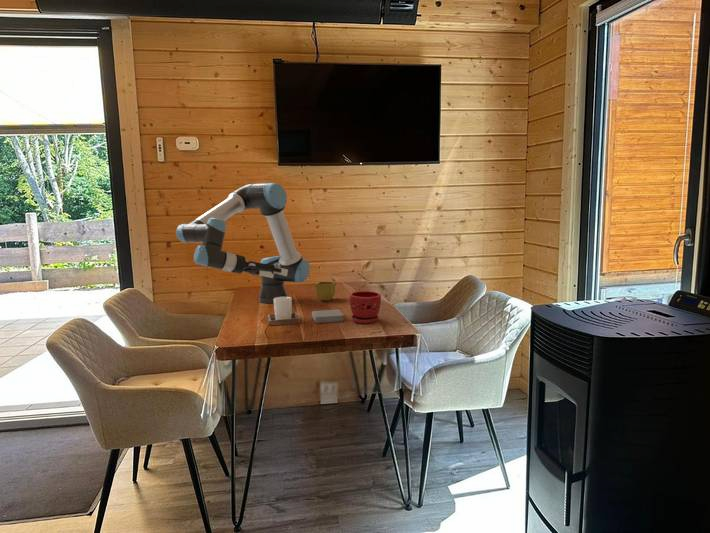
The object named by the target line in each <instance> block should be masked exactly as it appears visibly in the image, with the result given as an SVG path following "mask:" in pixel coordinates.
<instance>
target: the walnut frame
mask: <svg viewBox="0 0 710 533" xmlns="http://www.w3.org/2000/svg"><path fill="white" fill-rule="evenodd" d="M267 322H268V326H269V327H270V326H285V325H295V324H296V325H297V324H301V318H300V315H299V313H298V312H295V311H294V312H293V311H292V314H291V319H282V320H275V313H267Z"/></svg>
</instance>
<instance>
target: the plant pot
mask: <svg viewBox="0 0 710 533" xmlns="http://www.w3.org/2000/svg"><path fill="white" fill-rule="evenodd" d="M381 296H382V295H381V293H380V292H376V291H372V290H371V291H370V290H365V291H359V290H358V291H354V292H351V293H350V294H349V306H350V310H351V313H352V315H351V316H350V319H351V321H353V322H355V323H357V324H358V323H359V324H371V323H375V322H377V321H378V320H379V315H378V314H379V312H380V309H381V300H382V297H381Z"/></svg>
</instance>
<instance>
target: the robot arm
mask: <svg viewBox="0 0 710 533" xmlns="http://www.w3.org/2000/svg"><path fill="white" fill-rule="evenodd" d="M287 198H288V196H287V192H286V190H285V187H283V186H282V185H281V184H279V183H278V182H277V183H276V182H265V183H264V182H263V183H249V184H245V185H243V186H241V187H239V188H237V189H235V190H234V191H233V192H231V193H229V194H228V195H227V196H226V199H224V200H223V201H221V202H220V203H219V204H217V205H215V206H214V207H212V208H210V209H209V210H207V211H205V213H203V214H201V215H200V216H198V217H197V218H196V219H193V220H192V221H190V222H189V223H182V224H179V225H178V226H177V228H176V230H175V235H176V238H177V240H179V241H180V242H181V243H201V244H202V245H200V244H199V245H197V246H196V248H195V250H194V253H193V262H194V263H195V264H197V265H199V266H203V267H206V268H207V267H208V268H211V269H212V268H213V269H217V270H222V271H223V272H224V273H226V272H231V273H234V274H238V275H239V274H240V275H241V274H242V273H243V272H244V273H247V274H250V275H253V276H255V275H256V276H260V280H261V282H260V283H261V287H260V291H259V295H258V302H259V303H263V304H274V301H273V299H274V298H276V297H289V296H288V292H287V290H286V286H285V283H304V282H305V281H307V279H308V277H309V275H310V270H311V269H310V268H311V266H310V263H309V260H308V259H305V258H304V259H303V256H302V254H301V252H298V251H297V248H296V245H295V242H294V239H293V236H292V233H291V231H290V228H289V224H288V221H287V218H286V216H285V213H284V210H285V209H286V205H287ZM253 209H258V210H259V212H260V214H261V216H263V217H265V218H266V222H267V224H268V227H269V230H270V232H271V234H272V235H271V236H272V237H273V240H274V244H275V246H276V248H277V251H278V254H279V255H276V256H270V257H264V258H261V260H260V262H257V261H253V260H249V261H247V260H246V257H245V256H244V255H241V254H235V253H233V252H229V251H224V250H222V249H223V244H224V239H225V235H226V229H227V223H226V221H227V220H228V219H229V218H231V217H232V216H234V215H235V214H237V213H242V212H243V211H245V210H253Z"/></svg>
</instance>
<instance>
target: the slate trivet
mask: <svg viewBox="0 0 710 533" xmlns="http://www.w3.org/2000/svg"><path fill="white" fill-rule="evenodd" d="M344 317H345V316H344V313H342V312H341V310H340V309H325V310H313V311H311V318H313V319H312V320H314V322H315V324H321V323H323V324H324V323H338V322H344V321H345V319H344Z"/></svg>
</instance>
